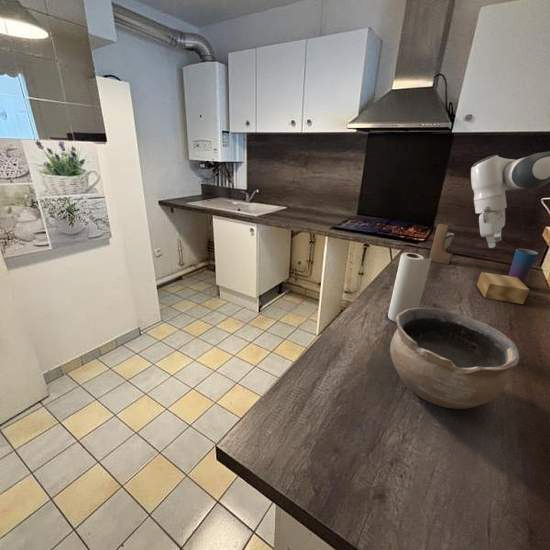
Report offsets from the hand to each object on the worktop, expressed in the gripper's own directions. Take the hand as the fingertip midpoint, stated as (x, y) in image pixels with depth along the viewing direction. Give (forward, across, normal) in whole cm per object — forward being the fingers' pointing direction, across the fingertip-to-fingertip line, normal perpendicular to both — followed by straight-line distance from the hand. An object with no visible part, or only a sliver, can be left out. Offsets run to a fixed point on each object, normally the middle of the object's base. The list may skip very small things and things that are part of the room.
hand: (495, 244), depth 103 cm
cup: (+22, +20, 0) cm, 30 cm away
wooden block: (+11, +27, +28) cm, 41 cm away
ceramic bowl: (+19, -64, +2) cm, 67 cm away
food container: (+9, +44, +34) cm, 56 cm away
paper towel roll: (+13, -42, +19) cm, 48 cm away
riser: (+21, +5, +2) cm, 21 cm away
